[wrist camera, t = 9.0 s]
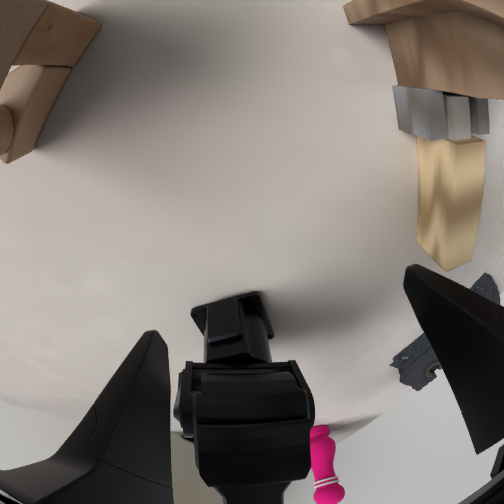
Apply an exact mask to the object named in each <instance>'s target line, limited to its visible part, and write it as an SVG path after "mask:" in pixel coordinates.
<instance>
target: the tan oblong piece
mask: <svg viewBox="0 0 504 504" xmlns="http://www.w3.org/2000/svg"><path fill="white" fill-rule="evenodd" d="M443 98H444V107H445V118H446V132H447V139H441V140H434V141H430V140H428V139H425V138H422V137H420V136H417V135H416V138H417V153H418V182H419V196H418V226H417V241H416V242H417V243H418V244H419V245H420V246H421V247H422V248H423V249H424V250H425V251H426V252H427V253H428V254H429V255H430V256H431V257H432V258H433V259H434V260H435V262H436V263H437V264H438V265H439V266H440V267H441V268H442V269H443V270H444V271H445V272H447V271H449V270H451V269H454V268H456V267H458V266H460V265H462V264H464V263H466V262H468V261H470V260H471V258H472V254H473V249H474V245H475V240H476V235H477V229H478V224H479V217H480V211H481V203H482V195H483V185H484V172H485V141H484V140H481V139H479V138H476V137H474V136H471V123H470V108H469V97H467V96H462V95H457V94H452V93H447V92H443Z"/></svg>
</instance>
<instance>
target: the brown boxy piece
mask: <svg viewBox="0 0 504 504" xmlns="http://www.w3.org/2000/svg"><path fill="white" fill-rule="evenodd" d="M343 7H344V10H345V13H346V16H347V19H348V22H349V25H384V27H385V30H386V34H387V37H388V41H389V45H390V49H391V53H392V57H393V61H394V66H395V71H396V75H397V81H398V86H392V87H393V93H394V99H395V105H396V112H397V119H398V127H399V130H402V131H405V132H408V133H411V134H414V135H417V136H420V137H422V138H425V139H428V140H430V141H434V140H441V139H447V132H446V118H445V107H444V98H443V92H447V93H452V94H457V95H462V96H467V97H469V108H470V123H471V132H473V133H476V134H479V135H480V134H489V113H488V99H487V98H490V99H503V100H504V0H353V1H351V2H349V3H347V4H345V5H343Z"/></svg>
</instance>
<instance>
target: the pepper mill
mask: <svg viewBox="0 0 504 504" xmlns="http://www.w3.org/2000/svg"><path fill="white" fill-rule="evenodd" d="M329 434H330V432H329V428H328V426H326V425H319V426H314V427H312V429H311V431H310V452H311V464H312V465H311V469H312V470H313V473H314V477H315V482H314V483H313V484H314V488H316V492H315V493H314V500H315V502H316V503H317V504H337V503H338V502H340V501H341V500H342V499H343V498H344V495H345V491H344V488H343V487H342V486H341V485H339V484H338V482H339V480H338V476H336V475H335V472H334V469H333V460H334V455H335V448H336V446H335V441H334V440H333V439H332V438H330V437H328V435H329Z"/></svg>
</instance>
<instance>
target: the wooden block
mask: <svg viewBox="0 0 504 504" xmlns="http://www.w3.org/2000/svg"><path fill="white" fill-rule="evenodd" d="M100 28H101V25H100V23H99V22H97V21H95V20H93V19H91V18H88V17H86V16H84V15H82V14H80V13H77V12H75V11H73V10H70V9H68V8H66V7H63V6H60V5H58V4H55V3H52V2H50V1H47V0H0V159H1V160H2V161H3V162H4V163H7V164H9V163H10V162H12V161H14V160H16V159H18V158H20V157H22V156H24V155H26V154H28V153H30V152H31V151H32V150H33V149H34V146H35V143H36V141H37V138H38V136H39V134H40V131H41V129H42V127H43V124H44V122H45V120H46V118H47V115H48V113H49V111H50V109H51V107H52V105H53V103H54V101H55V99H56V97H57V95H58V93H59V92H60V90H61V88H62V86H63V84H64V82H65V81H66V79H67V77H68V75H69V74H70V72H71V68H70V66H74V65H75V64H76V63H77V61H78V60H79V58H80V57H81V55H82V53H83V52H84V51H85V49H86V48H87V46H88V45H89V43H90V42H91V40H92V39H93V38H94V36H95V35H96V34H97V32H98V31H99V30H100ZM12 65H21V66H20V67H18V68H16V69H15V70H13V71H12V72H10V73H9V74H8V72H9V70H10V68H11V66H12ZM7 74H8V75H7Z"/></svg>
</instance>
